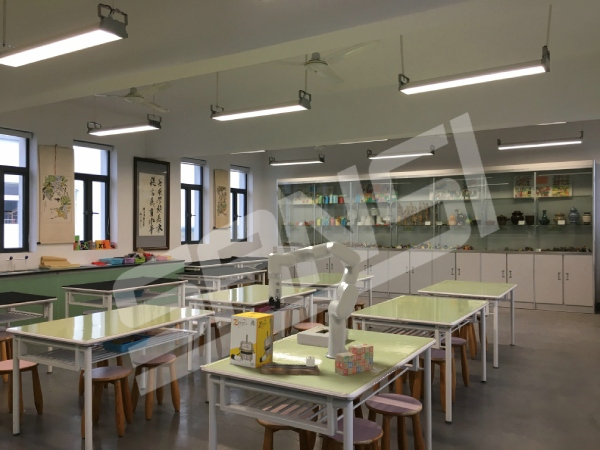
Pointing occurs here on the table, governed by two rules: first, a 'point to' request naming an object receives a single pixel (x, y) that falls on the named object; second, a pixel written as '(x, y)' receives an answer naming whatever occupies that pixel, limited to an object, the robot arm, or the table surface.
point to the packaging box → (251, 339)
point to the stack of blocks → (354, 359)
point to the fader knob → (310, 361)
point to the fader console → (289, 369)
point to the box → (316, 336)
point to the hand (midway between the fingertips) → (274, 307)
